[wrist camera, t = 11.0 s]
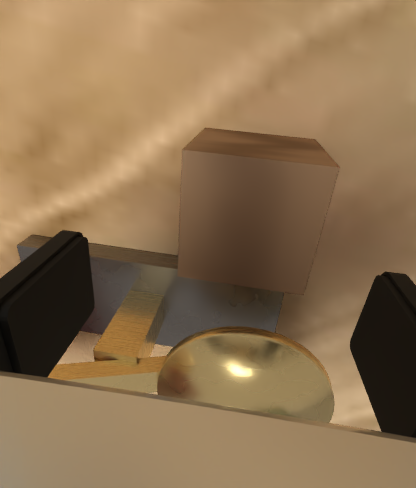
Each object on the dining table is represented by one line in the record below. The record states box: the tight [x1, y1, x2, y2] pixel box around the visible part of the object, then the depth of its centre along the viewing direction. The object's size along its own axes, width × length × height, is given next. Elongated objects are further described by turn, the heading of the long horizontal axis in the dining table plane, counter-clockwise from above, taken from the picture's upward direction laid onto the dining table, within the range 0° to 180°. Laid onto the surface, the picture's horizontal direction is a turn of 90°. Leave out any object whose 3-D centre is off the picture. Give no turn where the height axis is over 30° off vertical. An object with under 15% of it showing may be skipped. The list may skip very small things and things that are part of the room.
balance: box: [17, 235, 334, 423], centre depth 18 cm, size 23×9×12 cm, turn 85°
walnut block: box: [177, 128, 340, 295], centre depth 16 cm, size 6×6×6 cm
